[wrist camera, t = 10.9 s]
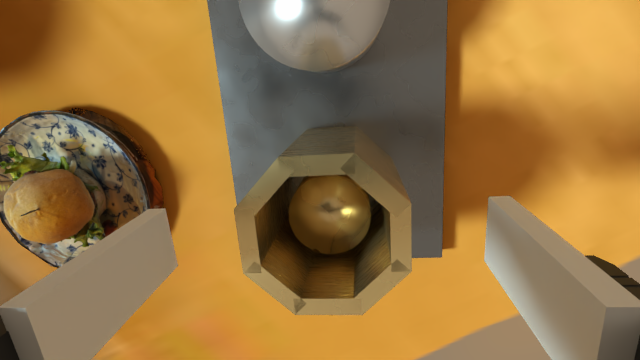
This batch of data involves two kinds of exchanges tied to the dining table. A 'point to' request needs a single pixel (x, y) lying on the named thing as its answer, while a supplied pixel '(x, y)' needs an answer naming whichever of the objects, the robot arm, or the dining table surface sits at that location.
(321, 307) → the sleeve
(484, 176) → the dining table surface
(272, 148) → the plate
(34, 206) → the burger
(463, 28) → the dining table surface
